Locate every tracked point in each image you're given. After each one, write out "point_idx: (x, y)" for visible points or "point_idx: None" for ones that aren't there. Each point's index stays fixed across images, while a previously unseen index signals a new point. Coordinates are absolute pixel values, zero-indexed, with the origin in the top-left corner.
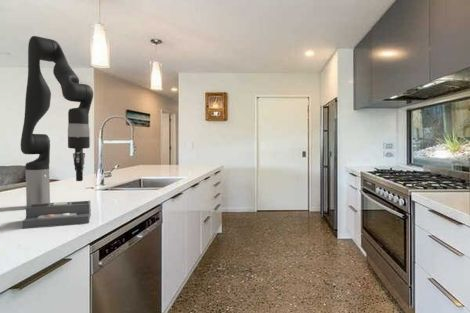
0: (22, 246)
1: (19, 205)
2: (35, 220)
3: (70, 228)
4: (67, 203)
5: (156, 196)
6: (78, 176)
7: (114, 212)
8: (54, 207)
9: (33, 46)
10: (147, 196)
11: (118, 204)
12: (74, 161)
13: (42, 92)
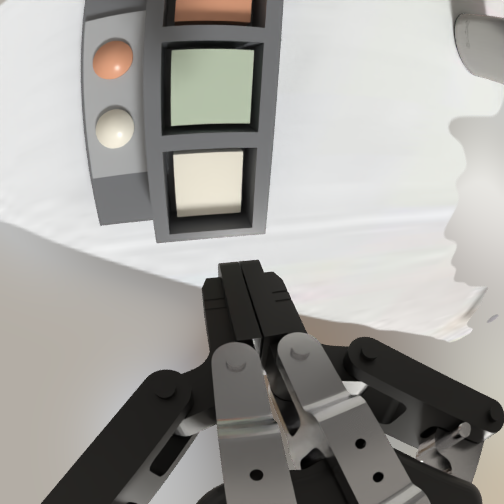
0: None
1: (493, 15)
2: (84, 19)
3: (49, 162)
4: (239, 122)
5: (412, 330)
6: (205, 315)
7: (274, 271)
8: (143, 69)
9: None
10: (426, 314)
11: (390, 267)
12: (50, 494)
13: None
